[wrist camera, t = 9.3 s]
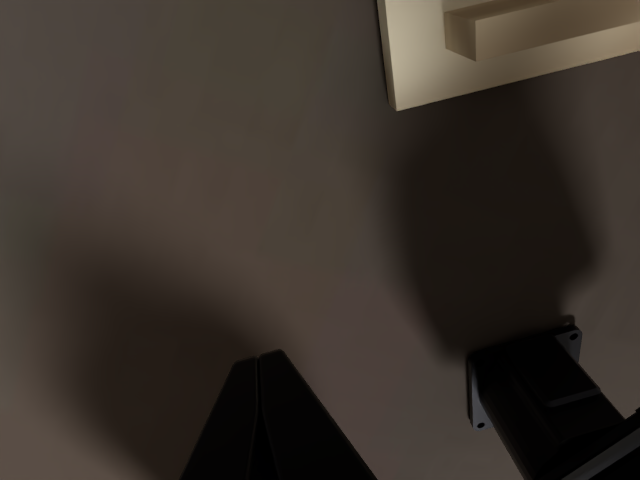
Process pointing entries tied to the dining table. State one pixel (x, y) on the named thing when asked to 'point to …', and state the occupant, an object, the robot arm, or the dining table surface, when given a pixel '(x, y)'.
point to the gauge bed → (495, 42)
